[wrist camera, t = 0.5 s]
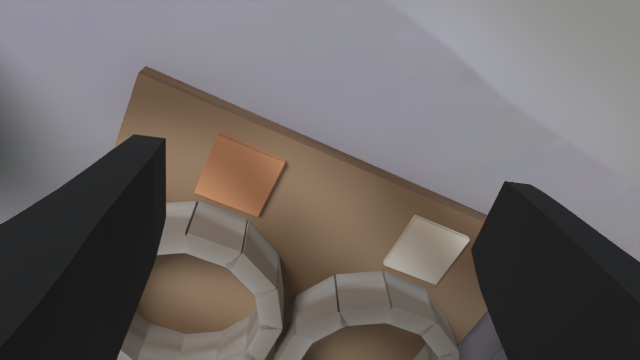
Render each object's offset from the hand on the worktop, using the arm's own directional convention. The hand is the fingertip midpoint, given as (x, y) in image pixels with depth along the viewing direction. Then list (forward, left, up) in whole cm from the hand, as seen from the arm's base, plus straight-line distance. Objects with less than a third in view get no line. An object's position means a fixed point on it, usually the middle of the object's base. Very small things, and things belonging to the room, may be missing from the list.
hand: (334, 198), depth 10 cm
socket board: (-10, -4, -11) cm, 15 cm away
